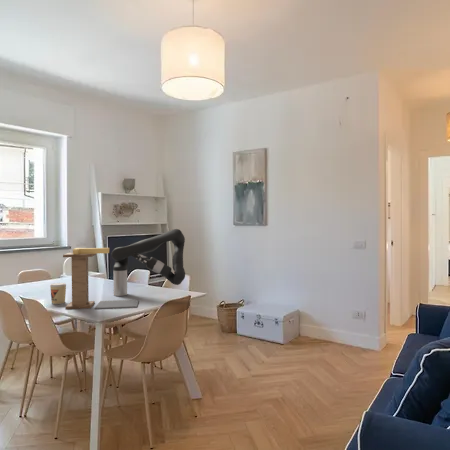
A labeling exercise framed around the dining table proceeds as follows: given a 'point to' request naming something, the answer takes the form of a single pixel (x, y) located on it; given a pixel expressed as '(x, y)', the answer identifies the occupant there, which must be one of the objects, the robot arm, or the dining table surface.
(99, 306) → the grey mat
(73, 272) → the walnut stand
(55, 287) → the coffee cup
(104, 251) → the mustard bar
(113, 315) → the dining table surface
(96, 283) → the dining table surface
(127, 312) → the dining table surface
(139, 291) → the dining table surface
